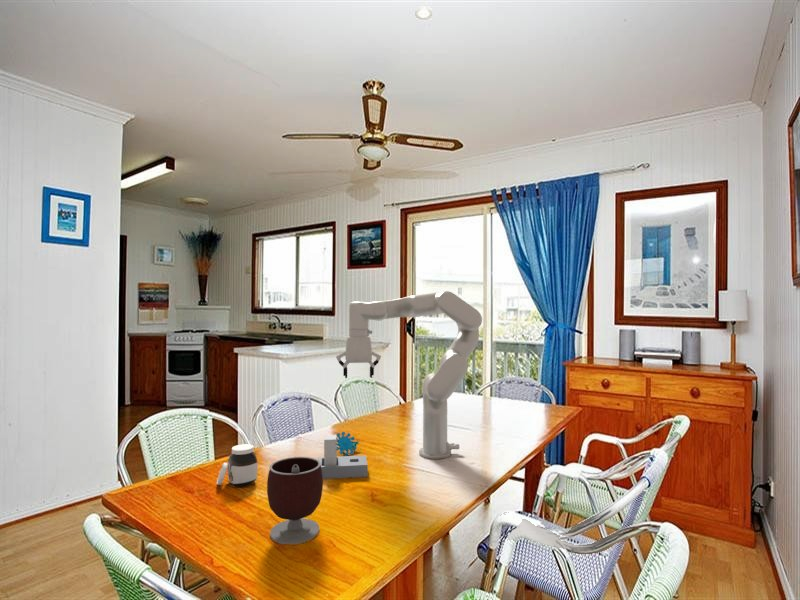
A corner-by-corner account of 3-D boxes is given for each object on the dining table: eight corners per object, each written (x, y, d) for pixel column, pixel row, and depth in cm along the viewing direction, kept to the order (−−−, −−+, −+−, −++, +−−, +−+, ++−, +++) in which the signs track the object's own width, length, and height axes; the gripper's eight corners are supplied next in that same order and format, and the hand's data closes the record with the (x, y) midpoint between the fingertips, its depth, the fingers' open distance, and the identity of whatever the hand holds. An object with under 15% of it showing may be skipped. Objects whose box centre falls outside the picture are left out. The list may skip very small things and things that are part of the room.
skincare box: (324, 468, 159) (324, 434, 159) (336, 468, 159) (336, 434, 160) (323, 475, 153) (324, 439, 153) (336, 474, 153) (336, 439, 154)
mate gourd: (268, 522, 120) (268, 447, 121) (321, 517, 123) (321, 443, 124) (264, 553, 105) (265, 467, 105) (324, 546, 108) (325, 462, 109)
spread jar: (260, 483, 147) (261, 448, 147) (226, 494, 138) (227, 456, 139) (243, 474, 155) (243, 440, 155) (210, 483, 147) (211, 447, 147)
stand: (365, 466, 163) (365, 455, 163) (367, 476, 153) (367, 464, 153) (317, 468, 160) (317, 457, 160) (316, 479, 150) (316, 467, 151)
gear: (335, 453, 172) (332, 430, 179) (330, 461, 175) (327, 438, 182) (362, 453, 177) (357, 431, 184) (356, 461, 180) (352, 438, 187)
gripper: (379, 332, 180) (379, 375, 180) (336, 333, 178) (336, 376, 177) (381, 333, 173) (381, 378, 172) (336, 334, 170) (336, 379, 170)
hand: (358, 377), depth 175 cm, fingers open, 9 cm apart
